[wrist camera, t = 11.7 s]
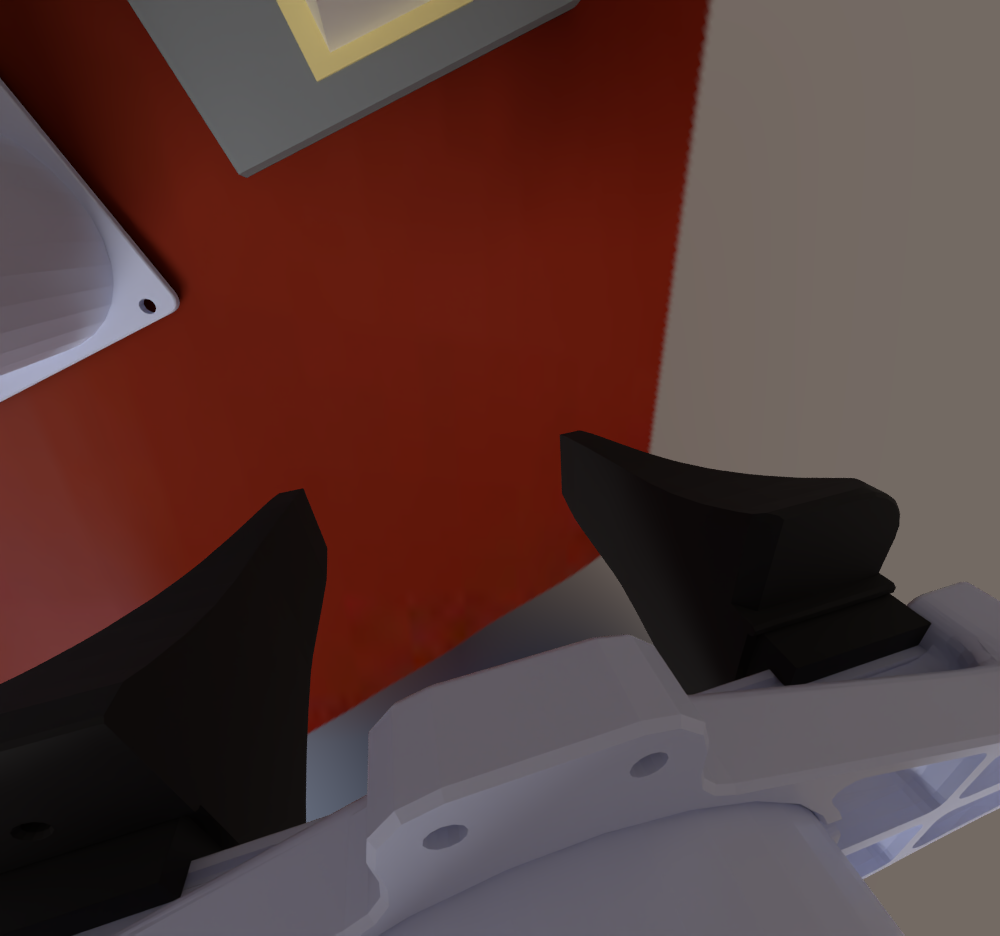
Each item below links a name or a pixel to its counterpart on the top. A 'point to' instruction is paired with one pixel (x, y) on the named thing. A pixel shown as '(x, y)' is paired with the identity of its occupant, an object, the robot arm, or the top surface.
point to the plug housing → (355, 17)
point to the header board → (316, 63)
